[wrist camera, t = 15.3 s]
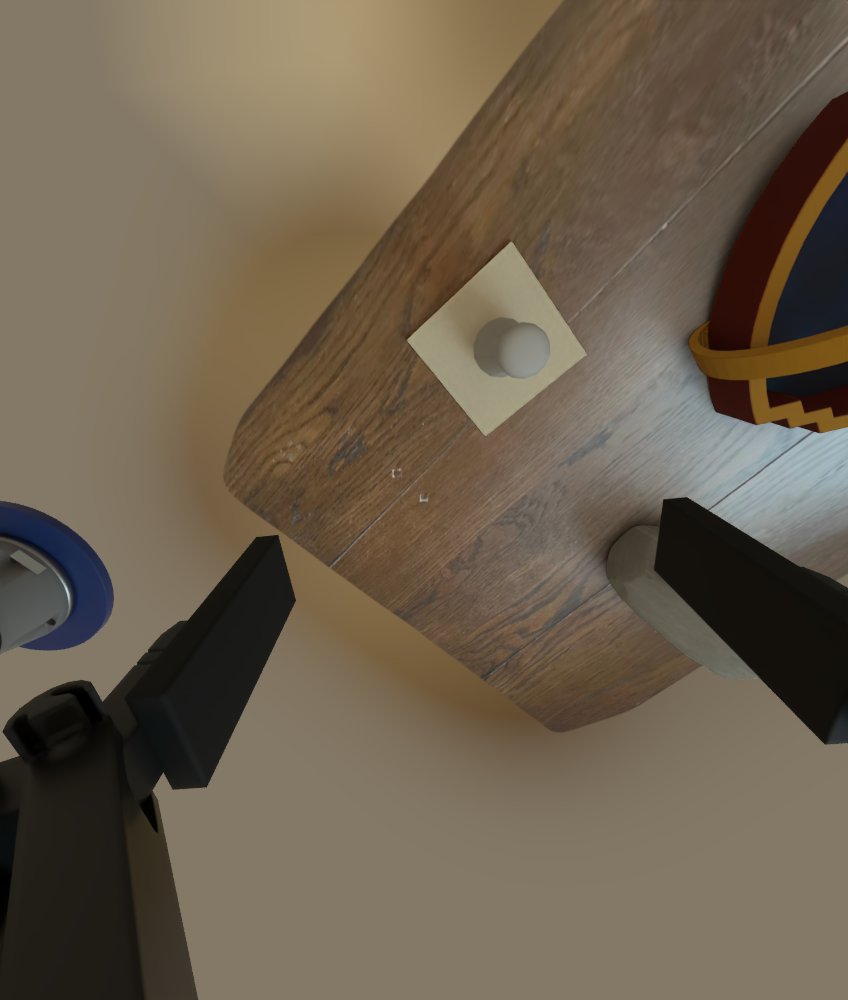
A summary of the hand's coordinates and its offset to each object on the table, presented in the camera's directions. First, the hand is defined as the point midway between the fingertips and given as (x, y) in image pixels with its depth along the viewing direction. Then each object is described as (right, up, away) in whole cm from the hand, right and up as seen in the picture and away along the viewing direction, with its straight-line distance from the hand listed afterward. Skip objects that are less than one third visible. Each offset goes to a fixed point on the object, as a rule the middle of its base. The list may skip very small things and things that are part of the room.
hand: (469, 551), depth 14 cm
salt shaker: (+6, +18, +30) cm, 36 cm away
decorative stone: (+30, -7, +41) cm, 51 cm away
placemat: (+6, +19, +30) cm, 36 cm away
